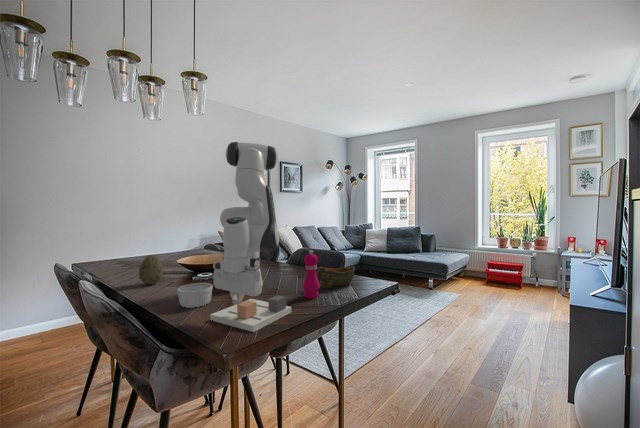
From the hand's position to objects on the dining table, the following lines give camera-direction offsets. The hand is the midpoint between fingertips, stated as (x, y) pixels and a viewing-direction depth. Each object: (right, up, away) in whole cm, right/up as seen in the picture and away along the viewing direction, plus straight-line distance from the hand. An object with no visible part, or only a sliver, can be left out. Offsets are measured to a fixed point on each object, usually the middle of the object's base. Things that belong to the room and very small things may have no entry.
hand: (237, 304), depth 104 cm
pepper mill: (+25, -5, +26) cm, 36 cm away
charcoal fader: (+13, -3, +4) cm, 14 cm away
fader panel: (+4, -5, +3) cm, 8 cm away
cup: (+35, -4, +42) cm, 55 cm away
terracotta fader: (+4, -3, -2) cm, 5 cm away
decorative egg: (-58, -5, +50) cm, 76 cm away
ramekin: (-22, -5, +18) cm, 29 cm away
